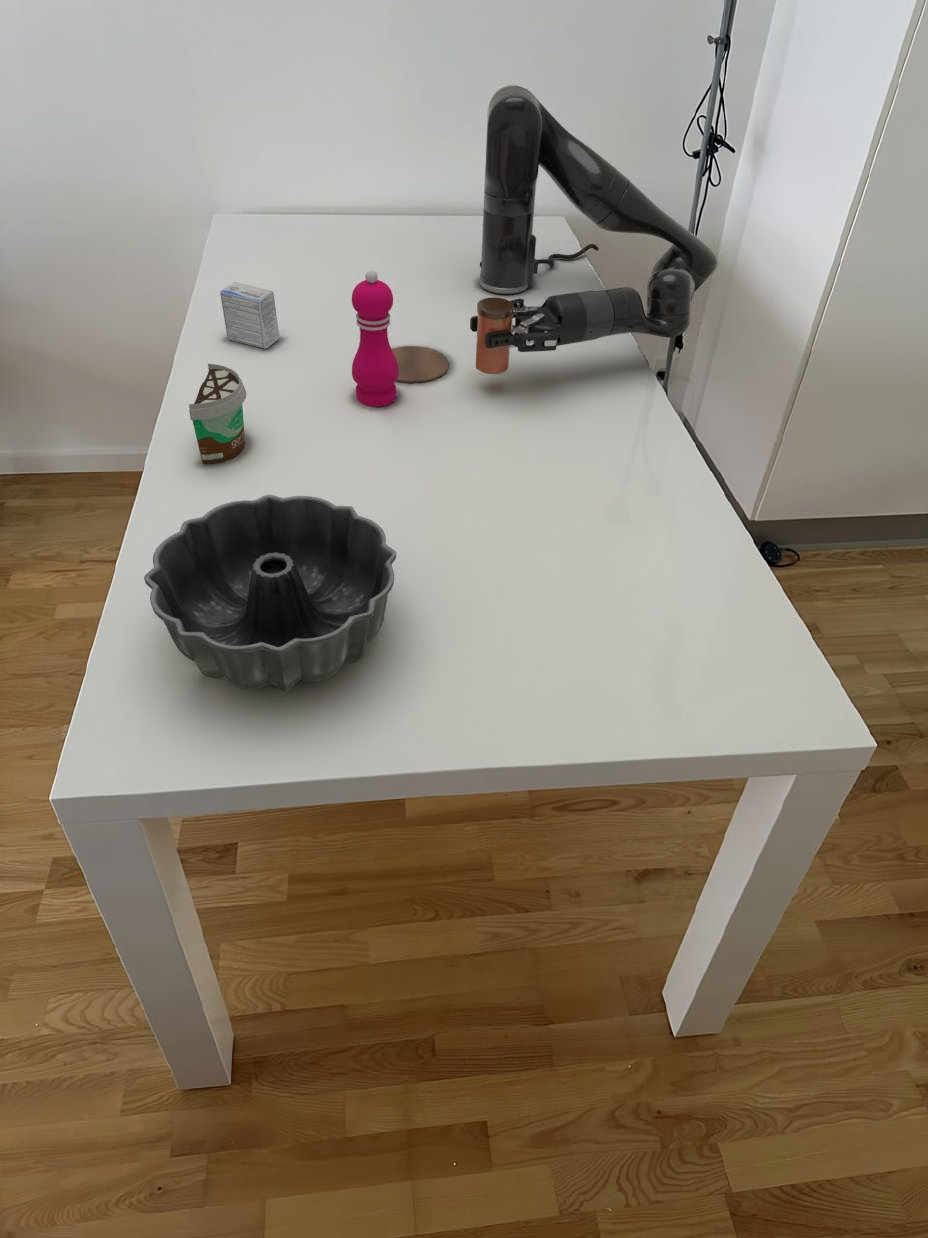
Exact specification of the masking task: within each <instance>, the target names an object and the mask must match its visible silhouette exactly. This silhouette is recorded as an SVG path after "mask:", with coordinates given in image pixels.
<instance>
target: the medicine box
mask: <svg viewBox="0 0 928 1238" xmlns="http://www.w3.org/2000/svg"><path fill="white" fill-rule="evenodd" d="M274 292H275V291H273V290H270V289H267V288H263V287H259V286H254V285H249V284H246V283H241V282H236V281H235V282H233V283H231V284H229V285H227V286H226V287H224V288H223V289H222V290H220V292H219V294H220V299H221V300H220V301H221V309H222V313H223V321H224V326H225V333H226V338H227V340H229V341H233V342H237V343H242V344H245V345H249V346H253V347H257V348H261V349H265V350H267V349H268V348H270V347H271V346H272V345H274V344H275V343H276V342H277V341H279V340H280V330H279V323H278V316H277V308H276V299H275V293H274Z"/></svg>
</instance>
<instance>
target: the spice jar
mask: <svg viewBox="0 0 928 1238" xmlns="http://www.w3.org/2000/svg"><path fill="white" fill-rule="evenodd" d="M510 301H511V300H509V299H506V298H502V297H486V298H482V299H480V300H479V301H478V302H477V304H476V313H477V316H478V318H477V331H476V342H475V343H476V348H475V368H476V369H477V370H478V371H479V372H481V373H483V374H487V375H500V374H503V373H505V372H506V371H508V369H509V367H510V354H511V353H510V352H511V351H510V350H511V347H510V346H509V345H508V346H501V347H495V348H486V346H485V345H484V340H485V334H486V333H489V332H496V331H503V330H508V331H509V333H510V330H511V324H513V319H512V314H513V309H514V305H513V303H512V302H510Z"/></svg>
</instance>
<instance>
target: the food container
mask: <svg viewBox="0 0 928 1238" xmlns="http://www.w3.org/2000/svg"><path fill="white" fill-rule="evenodd" d="M207 369H208V372H207V375H206V377H205V379H204V380H203V382H202V383H201V385H200V386H199V390H198V393H197V396H196V398H195V400H194V403H188V407H189V409H188V411H189V420H190V421H192V425H193V429H194V433H195V437H196V442H197V446H198V450H199V455H200V459H201V463H202V465H214V464H221V463H224V462H228V461H230V460H233V459H234V458H236V457H238V456H239V455H241V454H242V452H243V451H244V449H245V447H246V437H245V436H246V435H245V422H244V408H243V407H244V406H243V403H244V402H245V400H246V398H247V390H246V387H245V385H244V383H243V380H242V378H241V377H240V376H239V373H237V372H236V370H233V369H232V368H230V367H228V366H225V365H221V364H215V363H207Z"/></svg>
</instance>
